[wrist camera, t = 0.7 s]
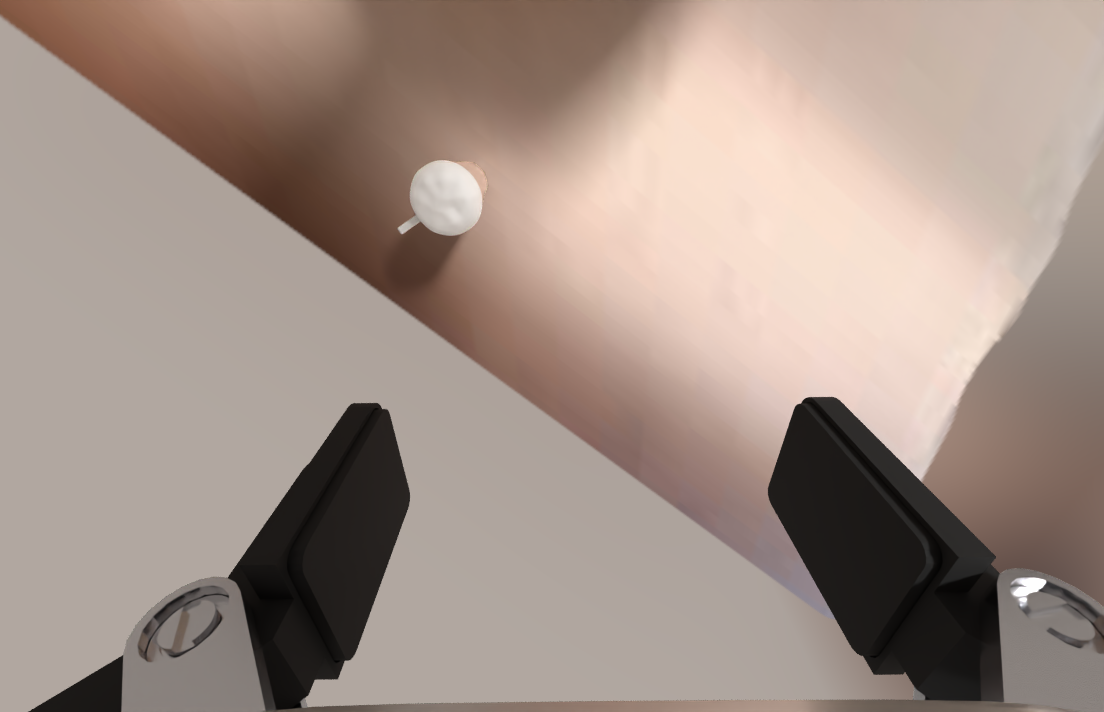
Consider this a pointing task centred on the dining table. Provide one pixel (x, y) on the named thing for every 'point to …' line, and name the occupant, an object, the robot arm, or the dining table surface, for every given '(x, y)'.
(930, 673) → the robot arm
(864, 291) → the dining table surface
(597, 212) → the dining table surface
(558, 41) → the dining table surface
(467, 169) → the milkshake
